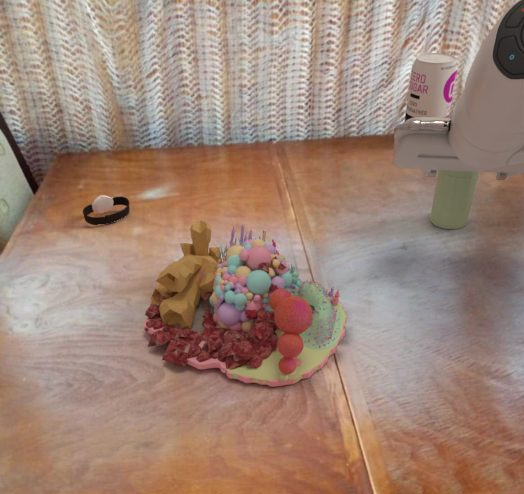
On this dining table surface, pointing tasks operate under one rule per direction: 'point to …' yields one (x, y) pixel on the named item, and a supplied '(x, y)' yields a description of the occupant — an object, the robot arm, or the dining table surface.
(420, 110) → the supplement can
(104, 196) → the watch
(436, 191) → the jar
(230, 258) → the pastel sphere sculpture
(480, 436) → the dining table surface
